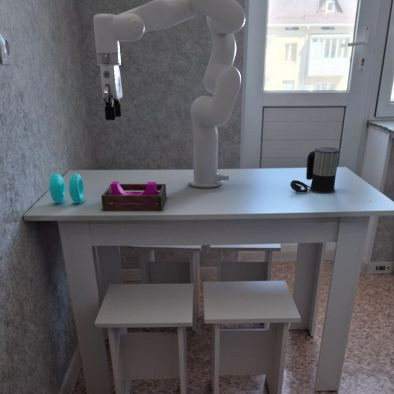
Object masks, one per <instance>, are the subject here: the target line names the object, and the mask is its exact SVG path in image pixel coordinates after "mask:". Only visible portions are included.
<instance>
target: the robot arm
mask: <svg viewBox="0 0 394 394" xmlns="http://www.w3.org/2000/svg"><path fill="white" fill-rule="evenodd" d="M199 16H206V17H205V18H206V19H205V20H206V26H207V29H208V31H209V32H210V35H211V39H212V49H211V53H210V57H209V60H208V63H207V66H206V69H205V73H204V76H203V79H202V80H203V81H202V83H203V84H202V85H203V88H204V89H205V91H206V92H208V93H210V94H212V96H210V95H201V96H198V97H197V98H195V99H194V100H193V102H192V103H191V107H190V119H191V124H192V126H191V127H192V139H193V140H192V141H193V142H192V145H193V147H192V148H193V151H192V152H193V153H192V154H193V155H192V159H193V162H192V163H193V179H191V180H189V186H190V187H193V188H199V189H213V188H216V187H220V186H221V185H222V181H230V175H228V174H221V173H219V170H218V165H219V163H218V162H219V132H218V128H221V127H224V126H225V125H226V124H227V123H228V122H229V121H230V119H231V116H232V114H233V111H234V108H235V105H236V102H237V100H238V97H239V93H240V90H241V84H242V78H241V77H242V76H241V73H240V71H239V70H238V68H237V67H236V66H234V61H235V57H236V53H237V42H236V38H235V33H238V32H240V31H241V30H242V28H243V27H244V25H245V22H246V13H245V10H244V8H243V6H242V5H241V4H240V3H239V2H238V1H237V0H151V1H149V2H146V3H145V4H143V5H140V6H139V5H138V6H136V7H134V8H132V9H129V10H126V11H123V12H121V13H119V14H113V13H96V14H95V15H93V18H92V22H93V23H92V24H93V34H94V44H95V55H96V64H97V66H100V83H101V94H102V99H103V103H104V105H103V106H104V116H105V120H106V121H115V120H116V118H121V117H122V107H121V99H122V98H123V87H122V78H121V71H120V66H121V65H122V64H121V63H122V62H121V48H120V42H121V43H125V42H126V43H130V42H131V43H132V42H133V43H134V42H136V41H139V40H140V39H141V38H142V37H143V35H144V34H146V33H149V32H154V31H161V30H166V29H169V28H172V27H175V26H177V25H179V24H182V23H184V22H186V21H189V20H191V19H194V18H197V17H199Z"/></svg>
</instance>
